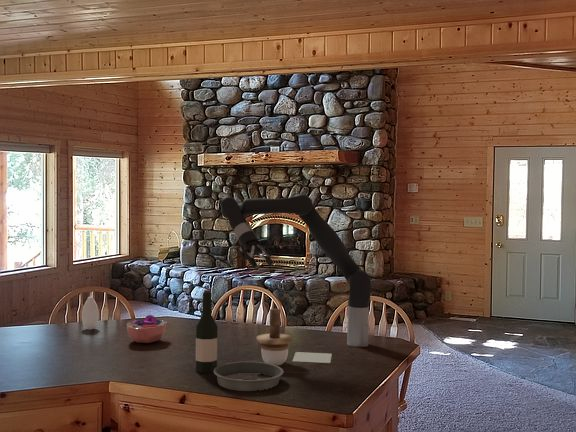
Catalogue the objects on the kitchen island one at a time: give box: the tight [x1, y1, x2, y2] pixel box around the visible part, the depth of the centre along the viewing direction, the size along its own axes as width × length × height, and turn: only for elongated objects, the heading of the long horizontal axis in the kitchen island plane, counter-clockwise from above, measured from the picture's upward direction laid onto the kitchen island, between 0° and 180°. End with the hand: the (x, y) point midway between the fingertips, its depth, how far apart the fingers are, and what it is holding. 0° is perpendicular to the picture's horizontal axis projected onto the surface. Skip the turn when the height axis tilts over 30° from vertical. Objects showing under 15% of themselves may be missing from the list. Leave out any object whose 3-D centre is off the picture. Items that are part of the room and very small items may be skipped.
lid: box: [256, 308, 294, 345], centre depth 259 cm, size 14×14×12 cm
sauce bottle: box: [81, 291, 100, 331], centre depth 316 cm, size 8×8×18 cm
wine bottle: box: [195, 289, 218, 374], centre depth 248 cm, size 8×8×30 cm
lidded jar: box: [260, 343, 289, 366], centre depth 259 cm, size 11×11×9 cm
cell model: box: [126, 314, 168, 344], centre depth 292 cm, size 17×20×11 cm
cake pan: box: [213, 361, 284, 392], centre depth 235 cm, size 25×25×4 cm
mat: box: [291, 351, 333, 364], centre depth 270 cm, size 15×15×1 cm
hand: (263, 265), depth 273 cm, fingers open, 8 cm apart
